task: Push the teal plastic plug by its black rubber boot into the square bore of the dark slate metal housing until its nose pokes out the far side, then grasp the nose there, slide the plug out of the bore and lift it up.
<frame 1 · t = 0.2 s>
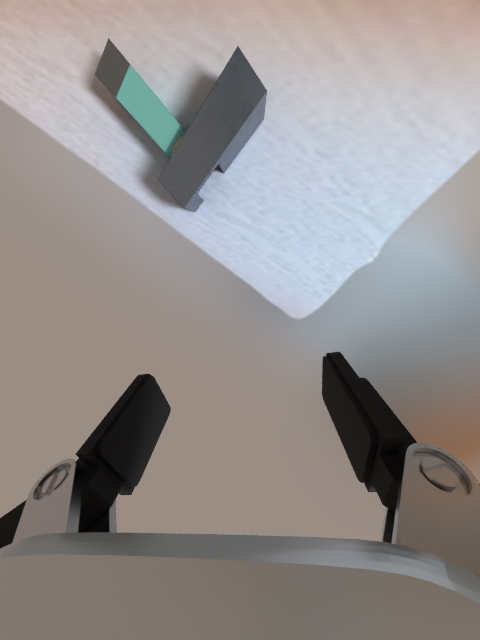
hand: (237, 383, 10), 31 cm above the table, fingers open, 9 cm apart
housing: (202, 174, 30), on the table
plug: (153, 117, 27), on the table
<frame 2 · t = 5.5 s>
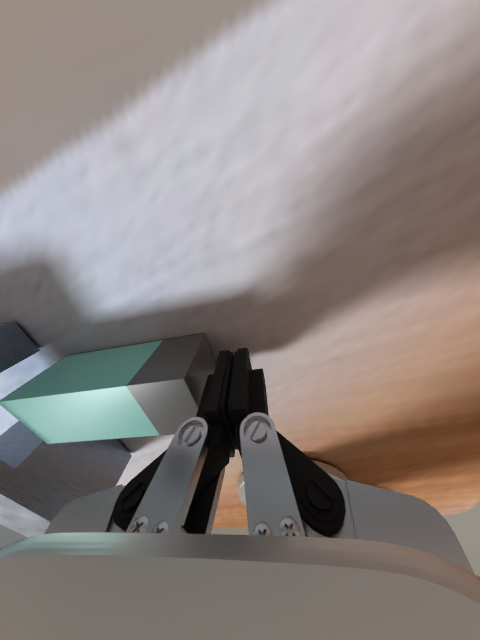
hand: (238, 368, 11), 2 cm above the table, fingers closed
housing: (38, 381, 15), on the table
plug: (143, 366, 13), on the table, touching gripper
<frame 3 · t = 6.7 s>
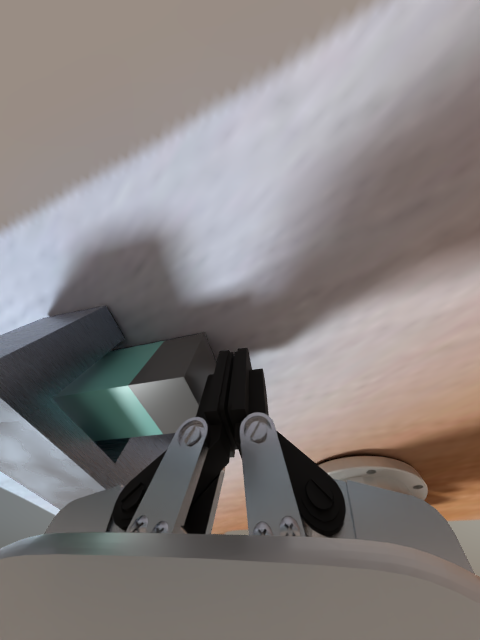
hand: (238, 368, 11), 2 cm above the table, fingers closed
housing: (114, 371, 14), on the table
plug: (146, 367, 13), on the table, touching gripper
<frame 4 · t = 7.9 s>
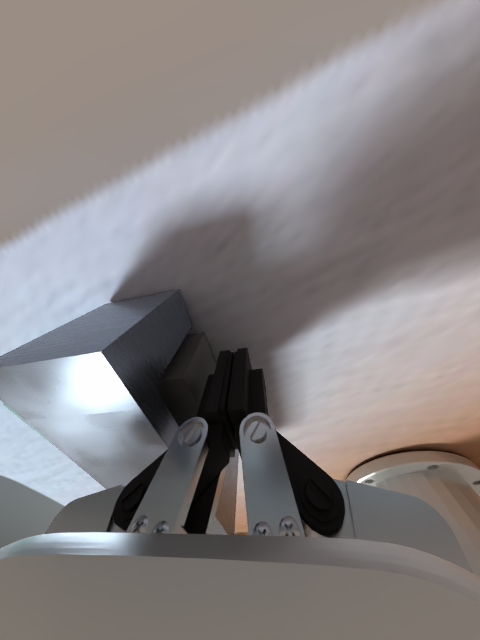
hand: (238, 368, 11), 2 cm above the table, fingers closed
housing: (172, 363, 13), on the table
plug: (145, 367, 13), on the table, touching gripper
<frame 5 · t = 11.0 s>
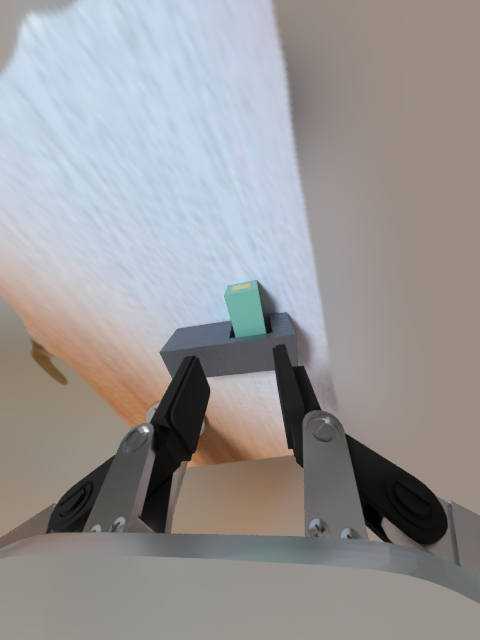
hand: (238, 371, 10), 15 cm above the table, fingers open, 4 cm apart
housing: (253, 332, 27), on the table
plug: (250, 318, 26), on the table
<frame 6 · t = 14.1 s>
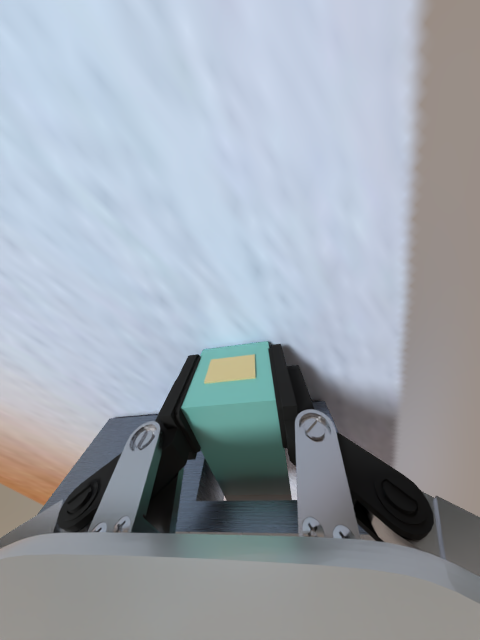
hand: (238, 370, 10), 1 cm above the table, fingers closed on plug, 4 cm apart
housing: (255, 427, 14), on the table
plug: (249, 406, 13), on the table, touching gripper
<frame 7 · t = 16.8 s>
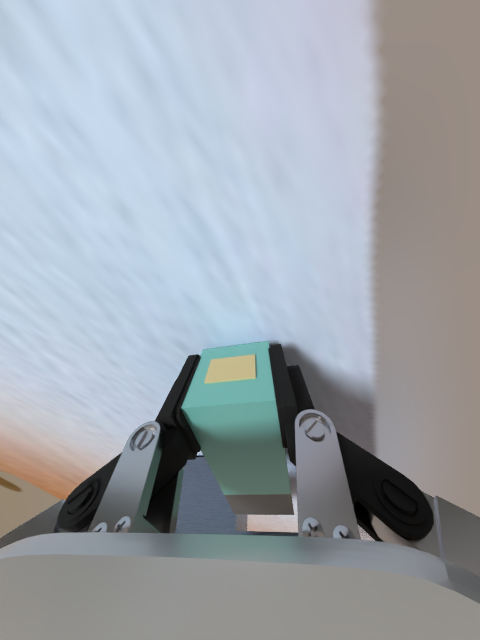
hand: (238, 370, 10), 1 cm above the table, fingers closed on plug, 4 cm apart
housing: (269, 467, 18), on the table
plug: (250, 406, 13), point 1 cm above the table, touching gripper
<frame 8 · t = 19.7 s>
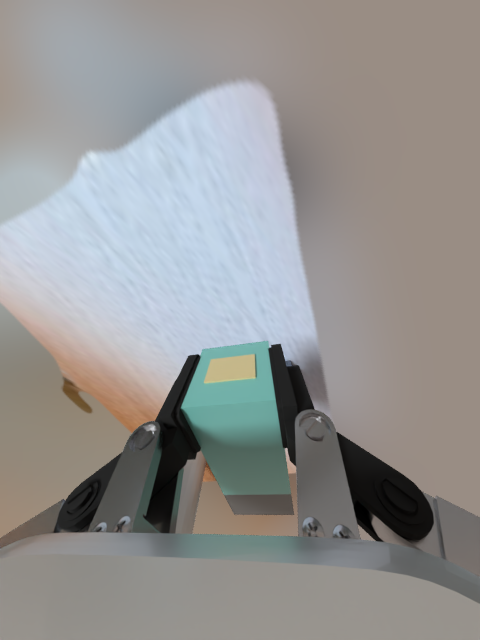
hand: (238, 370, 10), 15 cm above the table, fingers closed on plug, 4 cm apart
plug: (249, 406, 13), point 15 cm above the table, touching gripper
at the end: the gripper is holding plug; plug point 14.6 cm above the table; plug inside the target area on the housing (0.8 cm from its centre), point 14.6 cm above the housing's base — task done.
